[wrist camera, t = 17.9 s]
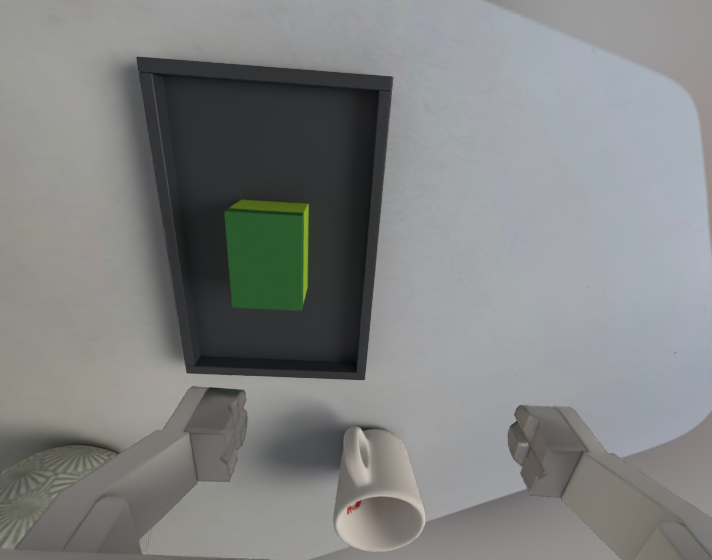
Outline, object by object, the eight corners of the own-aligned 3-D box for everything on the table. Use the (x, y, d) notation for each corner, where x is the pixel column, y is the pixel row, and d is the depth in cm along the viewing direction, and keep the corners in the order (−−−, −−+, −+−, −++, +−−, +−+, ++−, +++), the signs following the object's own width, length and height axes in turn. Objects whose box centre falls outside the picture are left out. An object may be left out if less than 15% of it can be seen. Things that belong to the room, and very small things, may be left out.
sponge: (241, 199, 26) (223, 211, 22) (308, 203, 26) (302, 215, 23) (246, 284, 29) (231, 307, 25) (307, 288, 29) (301, 311, 25)
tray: (153, 62, 23) (135, 56, 21) (389, 80, 24) (393, 76, 22) (195, 359, 32) (186, 373, 30) (363, 365, 33) (364, 380, 31)
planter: (13, 506, 40) (-168, 711, 26) (17, 398, 34) (-217, 590, 20) (164, 538, 43) (75, 738, 29) (193, 444, 37) (98, 639, 23)
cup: (312, 413, 35) (303, 488, 28) (386, 388, 34) (397, 459, 27) (353, 480, 39) (354, 561, 32) (420, 460, 38) (437, 539, 31)
